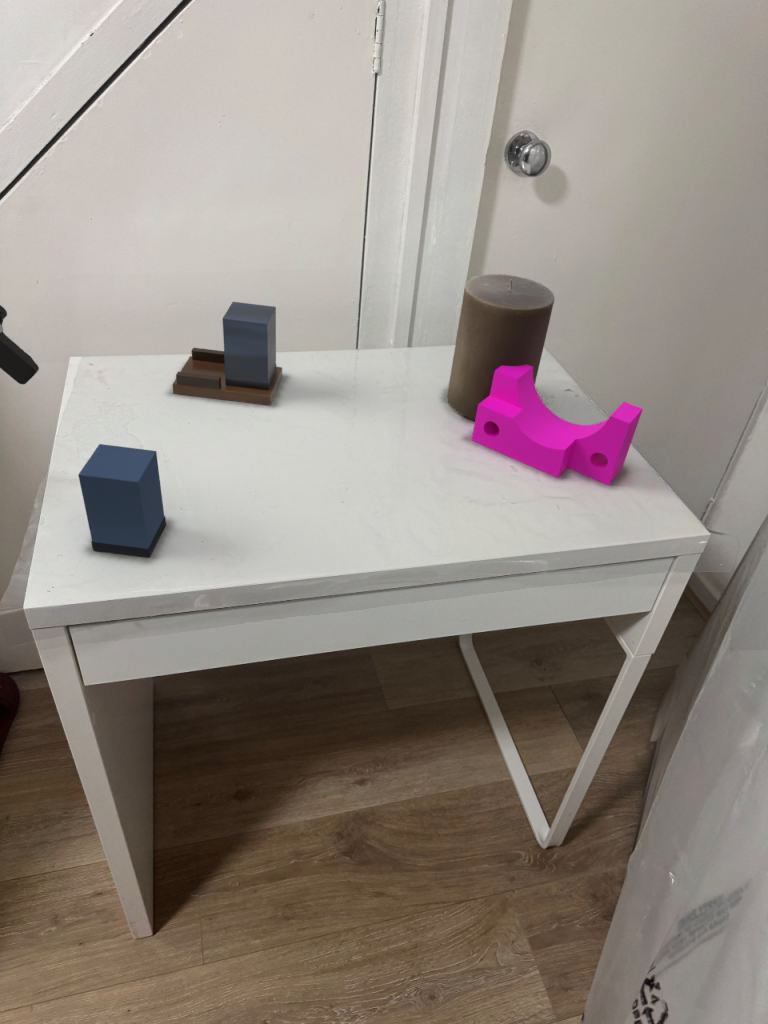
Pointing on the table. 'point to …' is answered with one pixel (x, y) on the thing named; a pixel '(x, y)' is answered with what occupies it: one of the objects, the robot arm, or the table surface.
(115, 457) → the blue rectangular block
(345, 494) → the table surface
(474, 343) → the pillar candle
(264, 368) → the stand
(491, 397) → the magenta pipe saddle clamp
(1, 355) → the robot arm
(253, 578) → the table surface
